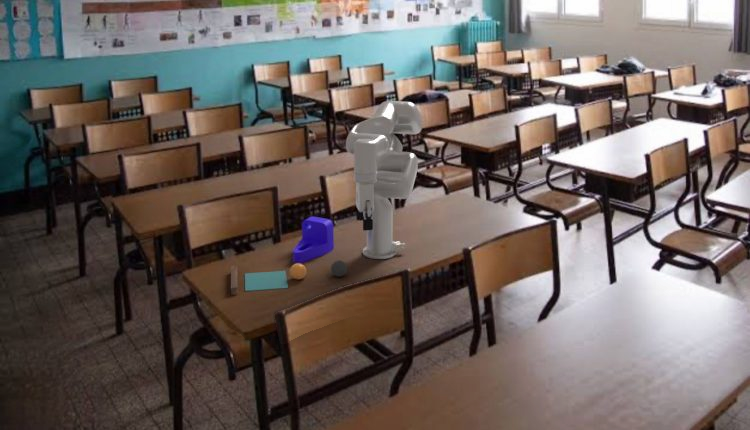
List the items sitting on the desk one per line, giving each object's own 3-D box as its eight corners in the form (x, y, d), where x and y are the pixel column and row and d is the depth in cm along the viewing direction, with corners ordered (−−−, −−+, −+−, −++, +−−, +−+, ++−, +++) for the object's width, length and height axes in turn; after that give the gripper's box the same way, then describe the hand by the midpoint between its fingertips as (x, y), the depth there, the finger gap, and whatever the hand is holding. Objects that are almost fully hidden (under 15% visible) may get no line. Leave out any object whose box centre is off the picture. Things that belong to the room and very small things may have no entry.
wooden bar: (237, 272, 252) (237, 265, 251) (237, 294, 235) (237, 287, 235) (231, 272, 252) (231, 266, 251) (231, 294, 235) (230, 287, 234)
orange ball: (305, 274, 250) (305, 260, 248) (307, 281, 245) (306, 266, 243) (289, 276, 249) (289, 261, 247) (290, 282, 244) (290, 267, 242)
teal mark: (285, 271, 253) (285, 270, 253) (288, 288, 240) (288, 287, 240) (244, 274, 251) (244, 273, 251) (245, 291, 238) (245, 290, 238)
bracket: (308, 244, 278) (308, 215, 274) (333, 249, 273) (333, 220, 269) (282, 260, 262) (281, 230, 258) (308, 266, 258) (307, 235, 254)
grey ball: (345, 272, 253) (345, 257, 251) (348, 278, 247) (348, 263, 246) (330, 273, 252) (329, 258, 250) (332, 279, 247) (331, 264, 245)
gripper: (350, 169, 247) (351, 216, 253) (358, 184, 231) (358, 234, 237) (372, 168, 248) (372, 215, 254) (381, 183, 232) (381, 233, 238)
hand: (365, 224), depth 245 cm, fingers open, 9 cm apart
